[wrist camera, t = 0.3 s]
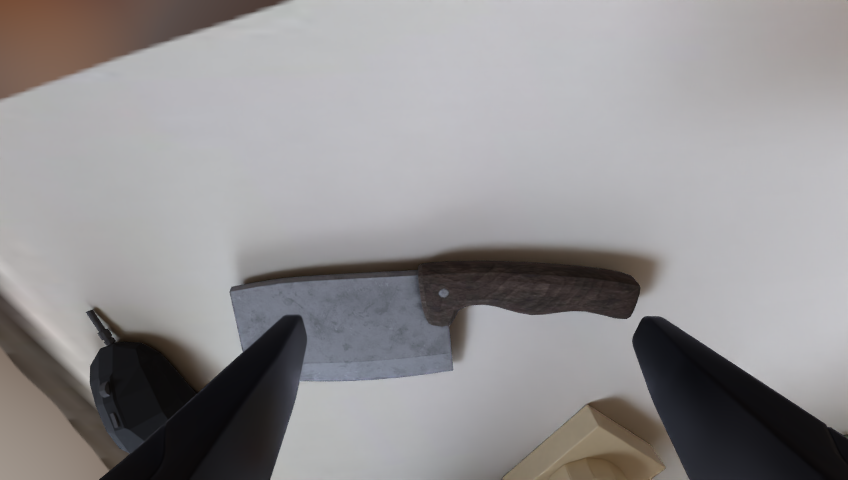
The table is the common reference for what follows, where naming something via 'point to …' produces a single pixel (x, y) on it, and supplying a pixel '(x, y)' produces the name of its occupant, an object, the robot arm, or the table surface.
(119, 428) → the gaming mouse
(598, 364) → the table surface
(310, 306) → the cleaver
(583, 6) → the table surface
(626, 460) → the panel
